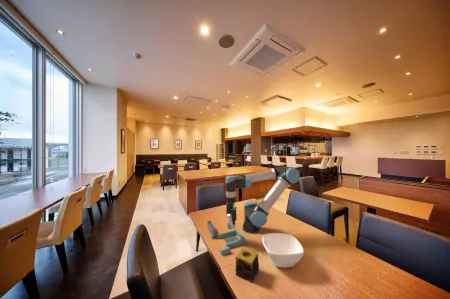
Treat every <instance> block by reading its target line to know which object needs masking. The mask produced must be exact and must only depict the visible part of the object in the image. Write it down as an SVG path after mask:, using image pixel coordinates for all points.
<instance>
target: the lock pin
mask: <svg viewBox="0 0 450 299" xmlns="http://www.w3.org/2000/svg"><path fill="white" fill-rule="evenodd" d="M206 228H208V229H207V231H208V230H209V231H208V232H209V234H210V236H211V235H213V239H214V238H217V233H218V232H217V228H216V227H215V225H214V224H213V222H212V221H211V220H210V219H208V220H206Z"/></svg>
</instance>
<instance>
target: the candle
mask: <svg viewBox="0 0 450 299" xmlns="http://www.w3.org/2000/svg"><path fill="white" fill-rule="evenodd" d="M234 259H235V275H236V277H237V276H238V277H239V278H242V279H244V280H246V281H249V282H250V283H254V281H255V279H256V277H257V274H258V272H259V268H260V265H259V263H260V262H259V252H257V251H255V250H252V249H249V248H245V247H242V248H241V249H240V251H239V252H238V253H237V254H236V255H235V258H234Z"/></svg>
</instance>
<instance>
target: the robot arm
mask: <svg viewBox="0 0 450 299" xmlns="http://www.w3.org/2000/svg"><path fill="white" fill-rule="evenodd" d="M300 177H301V176H300V172H299V170H298V169H297V168H294V167H289V166H283V165H282V166H279V167H272V168H270V169H269V170H264V171H259V172H258V171H257V172H252V173H248V174H247V173H246V174H242V175H241V174H237V175H226V177H225V205H226V210H225V212H226V213H225V215H226V216H227V214H228V213H231V217H232V220H231V227H232V229H231V230H236V221H238V220H237V206H236V205H235V203H236V200H237V198H236V197H237V194H236V193H237V191H236V190H237V189H249V188H251V186H252V183H255V182H256V183H257V182H260V181H265V180H271V179H272V180H276V182H275V183H274V184H273V186H272V187H271V188H270V189H269V191H268V192H267V193H266V194H265V195H264V197H263V198H262V199H261V201H260V202H257V201H251V200H250V201H245V202H244V203H243V214H244V216H243V217H244V220H243V224H242V230H243V231H244V232H245V233H248V234H257V233H259V232H260V231H261V227H263V226H265V225H266V223H267V222H268V216H269V214H270V213H269V211H270V210H271V208H273V206H274V204H275V203H276V202H277V201H278V199H279V198H280V197H281V196H282V194H283V193H284V192H285V191H286V189H287V188H289V187H291V186H292V185H293V184H296V183H298V182H299V181H300Z"/></svg>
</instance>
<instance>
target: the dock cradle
mask: <svg viewBox="0 0 450 299" xmlns="http://www.w3.org/2000/svg"><path fill="white" fill-rule="evenodd" d="M216 238H219V239H222V238H223V240H224V241H225V248H219V254H220V255H221V256H224V255H227V254H230V252H231V251H230V248H231V249H232V248H233V247H237V246H240V245H241V246H242V245H244V244H246V243H247V238H245V236H243V234H241V232H239V230H237V229H231V230H229V231H224V232H221V233H218V232H217V237H216ZM210 239H211V240H213V239H214V238H213V235H211V234H210Z"/></svg>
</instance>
